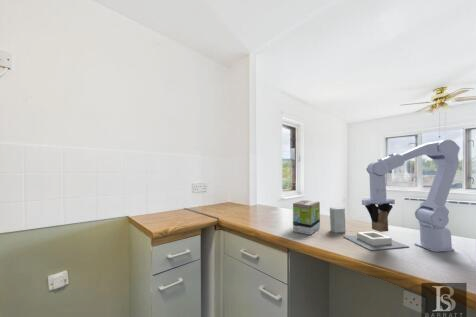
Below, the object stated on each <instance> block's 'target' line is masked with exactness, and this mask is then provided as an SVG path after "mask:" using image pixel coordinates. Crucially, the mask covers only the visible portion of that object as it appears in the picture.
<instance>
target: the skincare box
mask: <svg viewBox="0 0 476 317" xmlns="http://www.w3.org/2000/svg"><path fill="white" fill-rule="evenodd" d="M345 210H346V209H345V208H344V207H337V206H336V207H329V220H330V221H329V222H330V224H329V225H330V231H331V232H333V233H335V234H336V233H337V234H338V233H346V231H347V230H346V211H345Z"/></svg>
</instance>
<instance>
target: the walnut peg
mask: <svg viewBox="0 0 476 317" xmlns="http://www.w3.org/2000/svg"><path fill="white" fill-rule="evenodd" d="M388 217H389V215H388V213H387V212H386V211H382V210H379V211H378V221H377V222H372V221H371V229H372V230H373V231H375V232H376V231H377V232H378V233H379V232H380V233H381V232H382V233H383V232H389V220H388V219H389V218H388Z"/></svg>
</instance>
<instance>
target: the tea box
mask: <svg viewBox="0 0 476 317" xmlns="http://www.w3.org/2000/svg"><path fill="white" fill-rule="evenodd" d="M320 208H321V203H320V201H316V200H305V199H302V200H299V201H297V202H294V203H292V232H295V233H299V234H300V233H301V234H304V235H310V236H312V235H313V234H314V233H315V232H316V231H317V230H319V229H320V228H321V216H320V215H321V213H320V212H321V211H320Z"/></svg>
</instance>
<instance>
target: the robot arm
mask: <svg viewBox="0 0 476 317" xmlns="http://www.w3.org/2000/svg"><path fill="white" fill-rule="evenodd" d="M460 150H461V148H460V146H459V145H458V144H457V143H456V141H454V140H453V139H444V140H438V141H437V140H436V141H430V142H426V143H424V144H420V145H417V146H416V147H414V148H411V149H409V150H407V151H405V152H403V153H401V154H399V153H389V154H388V156H386V157H383V158H378V159H377V161H371V162H370V163H369V164H368V165H367V167H366V168H365V169H366V172H367V173H368V174H369V197H370V198H368V199H362V200H361V205H363V206H365V209H366V210H367V211H368V213H369V216H370V219H371V223H372V222H377V221H378V211H379V210H382V211H386V212H387V213H388V216H389V214H390V212H391V210H392V209H393V205H395V204H396V203H395V202H396V201H395V199H392V198H387V182H386V180H387V179H386V175H387V174H388V173H389V172H390V171H393V170H395V169H397V168H399V167H403V166H404V165H405V162H406V161H409V160H411V159H416V158H418V157H420V156H426V157H428V158H429V159H430V160H432V161H434V162H435V163H436V164H437V166H438V167H437V169H436V172H435V175H434V178H433V180H432V183H431V185H430V189H429V192H428V194H427V198H426V199H425V200H424V201H423V202H421V203H420V205H419V206H418V208H417V209H415V211H414V217H415V219H416V220H418V223H419V236H420V239H419V240H420V241H419V242H415V243H414V246H415V245H416V246H419V247H421V248H424V249H427V250H428V251H429V250H430V251H432V252H435V253H438V252H449V251H455V248H453V247H452V233H451V230H450V229H449V228H448V227H447V226H448V224H449V221H450V219H449V214H450V211H449V209H448V208H447V207H446V202H447V200H448V197H449V194H450V191H451V188H452V185H453V182H454V179H455V177H456V174H457V171H458V168H459V164H460V161H459V160H460V159H459V152H460Z"/></svg>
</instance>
